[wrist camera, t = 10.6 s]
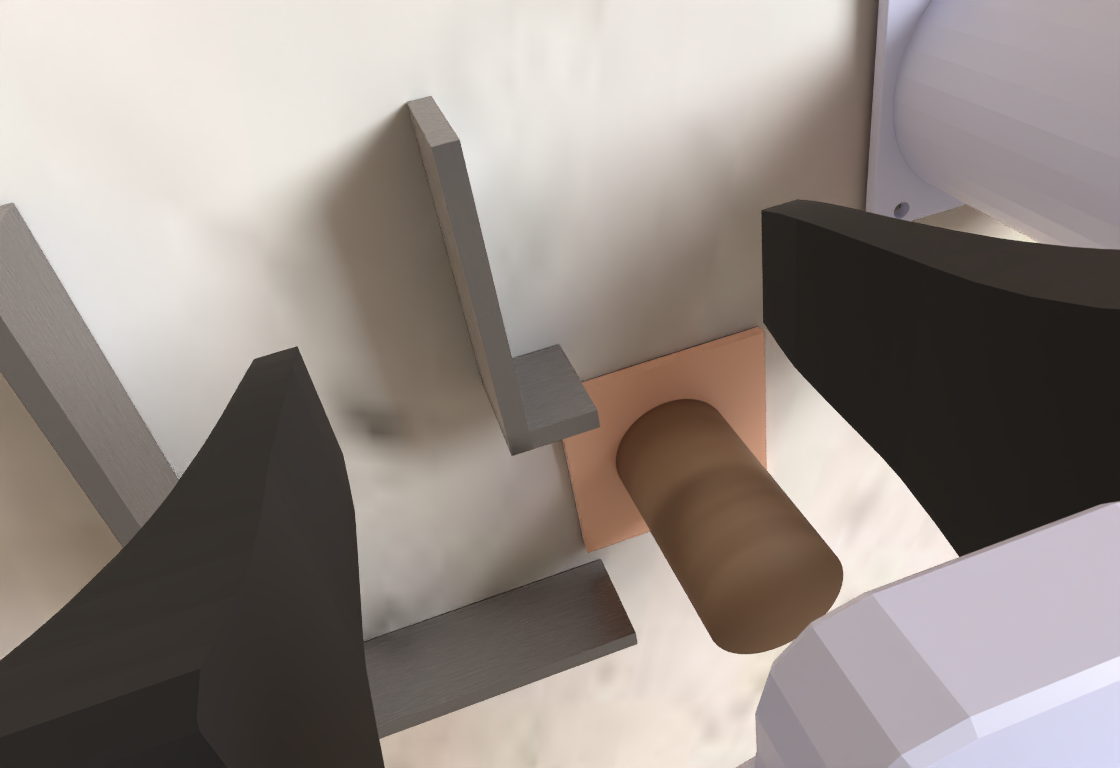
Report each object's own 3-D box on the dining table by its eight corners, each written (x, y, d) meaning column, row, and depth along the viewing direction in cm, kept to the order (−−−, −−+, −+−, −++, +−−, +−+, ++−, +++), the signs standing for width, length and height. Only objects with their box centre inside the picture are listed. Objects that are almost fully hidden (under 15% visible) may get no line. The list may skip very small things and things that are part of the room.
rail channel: (507, 76, 20) (547, 116, 17) (603, 569, 31) (637, 643, 28) (-15, 210, 18) (-65, 278, 15) (279, 683, 29) (281, 775, 26)
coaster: (758, 326, 27) (764, 332, 26) (761, 483, 31) (766, 490, 30) (552, 391, 26) (555, 398, 25) (584, 545, 30) (587, 552, 29)
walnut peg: (737, 461, 29) (852, 608, 23) (636, 513, 29) (727, 674, 23) (710, 378, 27) (830, 520, 21) (599, 435, 27) (691, 593, 21)
